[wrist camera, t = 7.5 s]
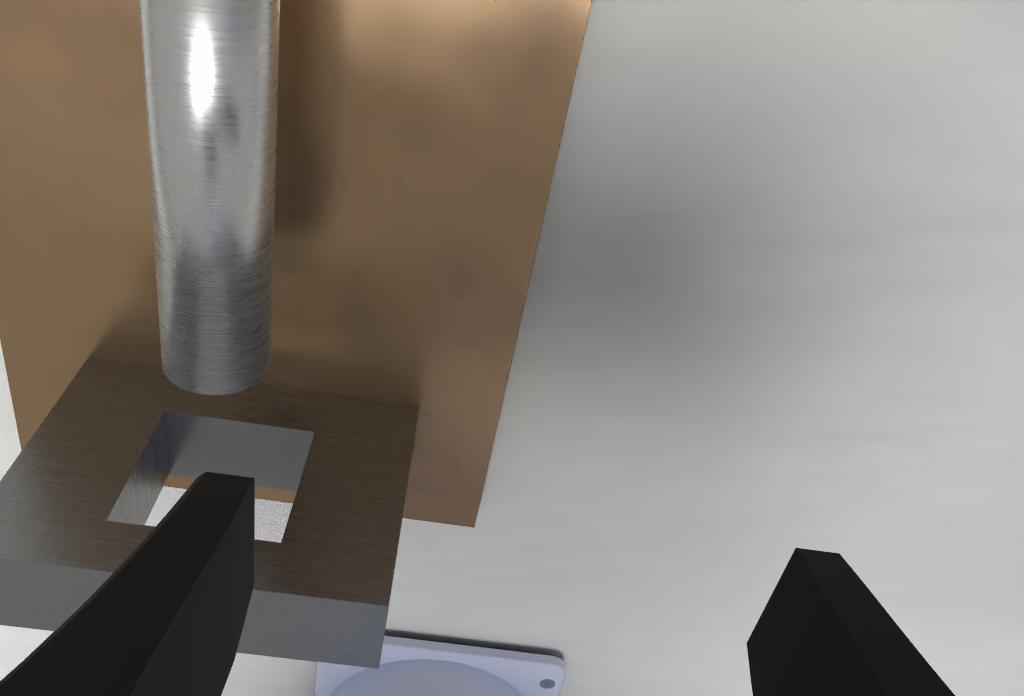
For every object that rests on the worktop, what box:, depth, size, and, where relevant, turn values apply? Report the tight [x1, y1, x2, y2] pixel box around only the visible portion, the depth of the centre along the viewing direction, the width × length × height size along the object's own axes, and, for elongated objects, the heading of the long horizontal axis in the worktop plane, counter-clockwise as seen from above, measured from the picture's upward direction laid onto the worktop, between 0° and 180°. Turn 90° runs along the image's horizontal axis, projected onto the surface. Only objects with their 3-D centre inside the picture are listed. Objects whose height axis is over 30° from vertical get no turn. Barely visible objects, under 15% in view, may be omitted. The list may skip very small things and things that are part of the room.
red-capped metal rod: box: [139, 0, 280, 395], centre depth 13 cm, size 12×5×5 cm, turn 170°
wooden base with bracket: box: [0, 0, 592, 669], centre depth 16 cm, size 18×12×7 cm, turn 170°
